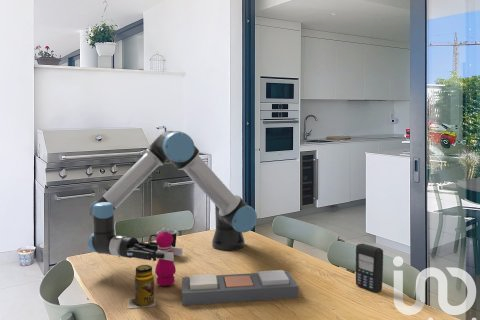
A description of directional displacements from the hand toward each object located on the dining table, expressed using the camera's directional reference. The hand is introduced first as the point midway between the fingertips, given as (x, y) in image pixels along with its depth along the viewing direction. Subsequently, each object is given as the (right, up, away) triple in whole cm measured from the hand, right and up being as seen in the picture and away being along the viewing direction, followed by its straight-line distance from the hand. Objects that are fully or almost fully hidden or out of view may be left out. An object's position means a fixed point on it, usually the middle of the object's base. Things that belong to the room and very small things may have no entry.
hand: (177, 254), depth 152 cm
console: (+22, -12, -4) cm, 25 cm away
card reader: (+67, -12, -2) cm, 68 cm away
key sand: (+10, -10, -6) cm, 15 cm away
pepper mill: (-5, -11, +3) cm, 12 cm away
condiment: (-10, -14, -11) cm, 20 cm away
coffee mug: (-11, -9, +39) cm, 41 cm away
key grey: (+33, -9, -3) cm, 35 cm away
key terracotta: (+21, -11, -5) cm, 25 cm away
